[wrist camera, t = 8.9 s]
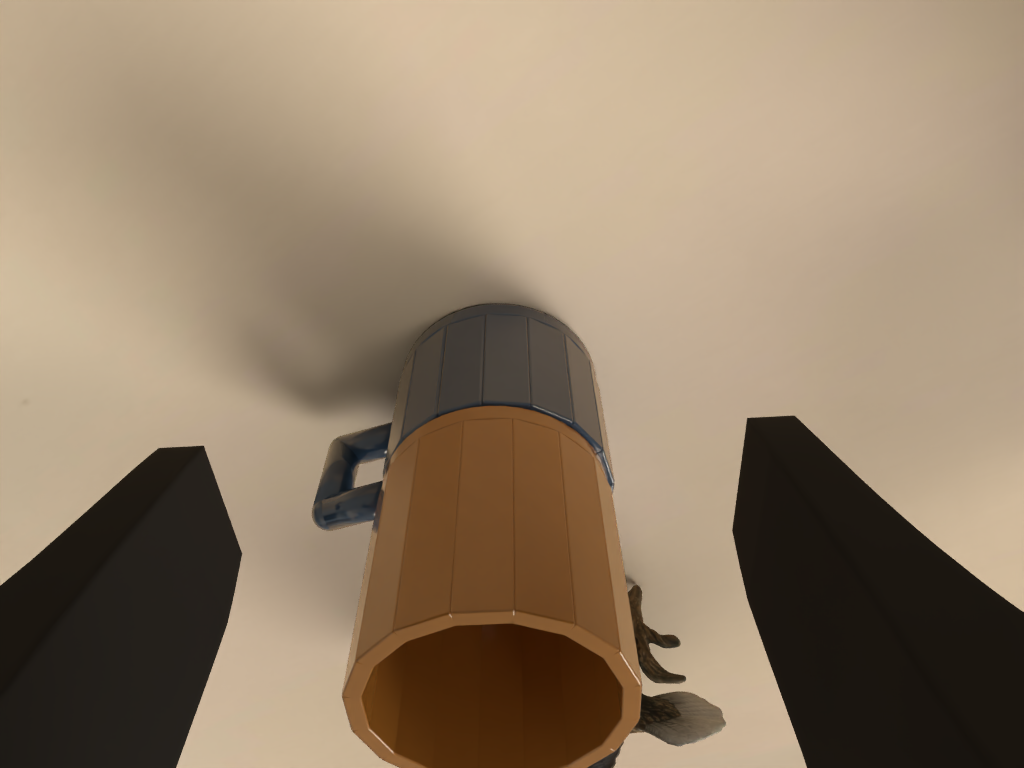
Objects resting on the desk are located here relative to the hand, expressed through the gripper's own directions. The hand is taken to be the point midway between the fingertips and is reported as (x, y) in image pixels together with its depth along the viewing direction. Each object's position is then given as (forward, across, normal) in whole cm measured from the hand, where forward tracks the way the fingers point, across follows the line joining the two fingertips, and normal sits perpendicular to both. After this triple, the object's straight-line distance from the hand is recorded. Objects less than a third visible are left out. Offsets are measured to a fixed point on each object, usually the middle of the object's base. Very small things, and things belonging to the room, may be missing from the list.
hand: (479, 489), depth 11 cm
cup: (+10, +1, +6) cm, 12 cm away
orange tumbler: (+6, 0, +6) cm, 8 cm away
